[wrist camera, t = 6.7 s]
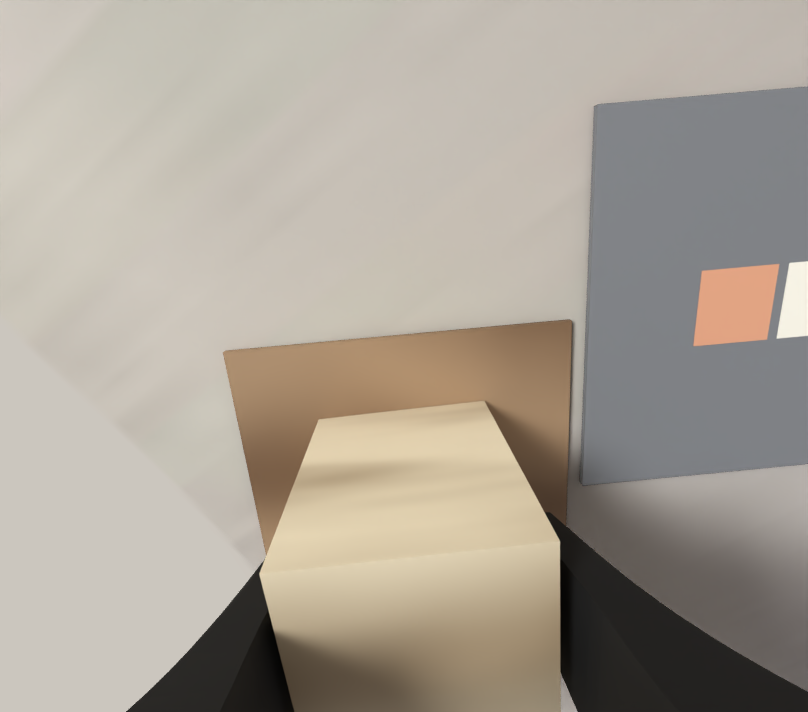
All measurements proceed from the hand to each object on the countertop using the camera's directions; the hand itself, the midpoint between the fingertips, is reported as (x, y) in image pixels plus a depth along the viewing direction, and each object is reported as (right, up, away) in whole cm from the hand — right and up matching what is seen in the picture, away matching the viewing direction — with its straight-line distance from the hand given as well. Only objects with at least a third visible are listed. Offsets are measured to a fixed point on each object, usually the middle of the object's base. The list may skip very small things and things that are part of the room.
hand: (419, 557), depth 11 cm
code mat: (+10, +7, +2) cm, 12 cm away
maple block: (0, +1, +3) cm, 3 cm away
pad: (0, +1, +3) cm, 3 cm away
